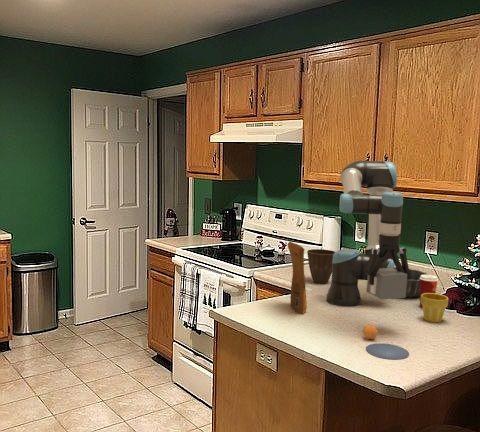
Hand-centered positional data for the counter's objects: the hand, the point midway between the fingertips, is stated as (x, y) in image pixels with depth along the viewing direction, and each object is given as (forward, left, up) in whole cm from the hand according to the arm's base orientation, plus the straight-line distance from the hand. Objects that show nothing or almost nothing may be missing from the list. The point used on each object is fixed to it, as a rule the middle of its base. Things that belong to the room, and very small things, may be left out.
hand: (385, 292), depth 196 cm
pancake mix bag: (-30, -23, -15) cm, 41 cm away
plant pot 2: (-7, +27, -15) cm, 31 cm away
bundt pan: (-47, +37, -15) cm, 62 cm away
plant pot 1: (-72, +6, -15) cm, 74 cm away
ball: (+9, -10, -12) cm, 18 cm away
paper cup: (-23, +35, -14) cm, 44 cm away
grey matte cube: (0, 0, -1) cm, 1 cm away
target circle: (+21, -10, -14) cm, 27 cm away
